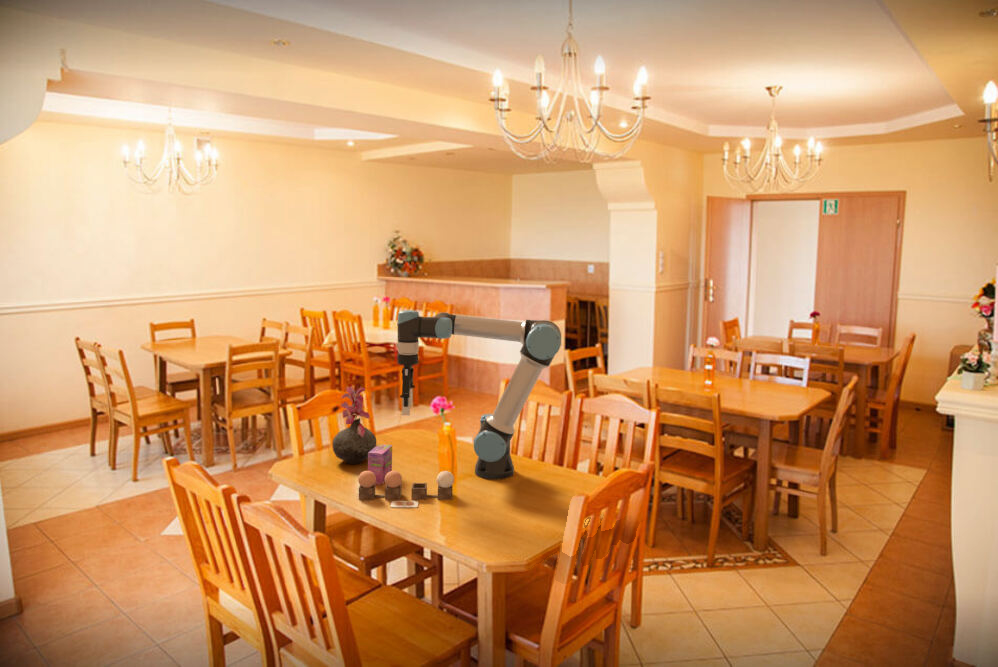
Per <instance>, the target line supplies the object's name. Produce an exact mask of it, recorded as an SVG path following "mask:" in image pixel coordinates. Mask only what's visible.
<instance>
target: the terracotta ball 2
mask: <svg viewBox="0 0 998 667" xmlns="http://www.w3.org/2000/svg"><path fill="white" fill-rule="evenodd" d="M402 482H403V477H402V474H401V473H400V472H399V471H397V470H392V471H390V472H388V473H387V474H386V476H385V482H384V483H385V486H386V485H387V486H388V487H389V488H397V487H399V486H400V484H401V485H402Z"/></svg>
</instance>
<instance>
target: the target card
mask: <svg viewBox="0 0 998 667" xmlns="http://www.w3.org/2000/svg"><path fill="white" fill-rule="evenodd" d="M418 506H419V500H392V501H391V503H390V509H395V508H396V509H397V508H400V509H404V508H405V509H416V508H418Z"/></svg>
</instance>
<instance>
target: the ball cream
mask: <svg viewBox="0 0 998 667" xmlns="http://www.w3.org/2000/svg"><path fill="white" fill-rule="evenodd" d="M454 482H455V477H454V475H453V474H452V472H450V471H448V470H443V471H440V472H439V473H438V475H437V477H436V483H437V485H439V486H440V487H441V488H449V487H451V486H452V485H453V484H454Z"/></svg>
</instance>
